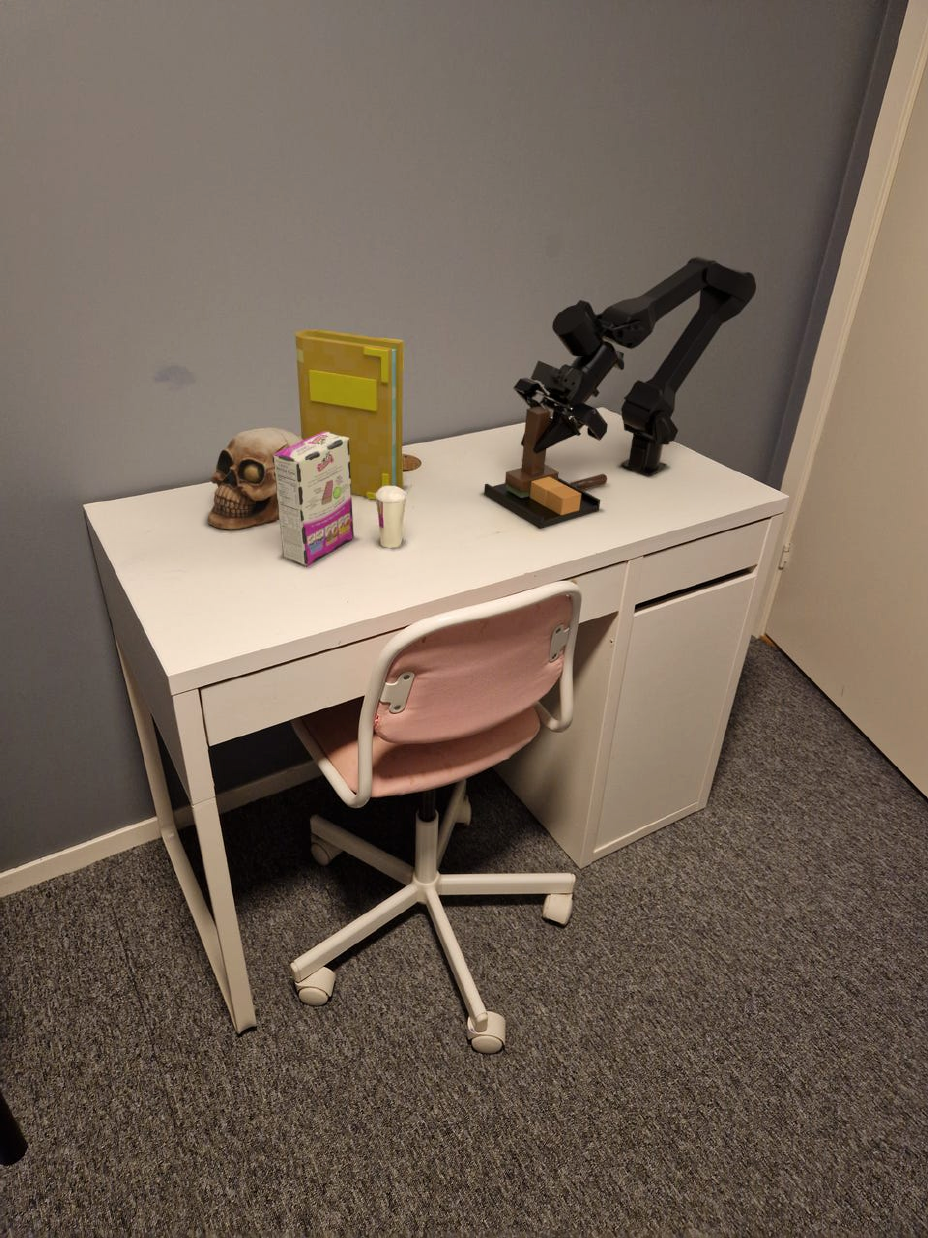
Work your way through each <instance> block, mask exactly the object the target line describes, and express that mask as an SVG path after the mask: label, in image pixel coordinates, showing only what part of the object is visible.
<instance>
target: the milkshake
mask: <svg viewBox="0 0 928 1238" xmlns="http://www.w3.org/2000/svg"><path fill="white" fill-rule="evenodd" d="M411 488H412V485H410V487H409V489H408V490H407V492H406V491H405V490H404V489H403V488H402V489H401V488H399V487H397V486H383V487H381V488H380V489H379V490H378V491H377V492H376V500H375V504H376V511H377V518H378V519H377V520H378V528H379V541H380V546H382V547H384V548H388V549H395V548H398V547H400V546H401V545H402V542H403V529H404V520H405V519H404V518H405V511H406V503H407V496H408V493H409V491H410V489H411Z"/></svg>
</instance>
